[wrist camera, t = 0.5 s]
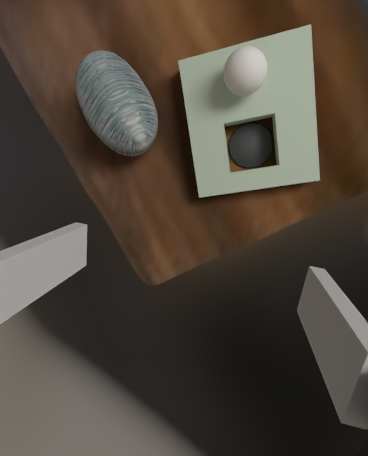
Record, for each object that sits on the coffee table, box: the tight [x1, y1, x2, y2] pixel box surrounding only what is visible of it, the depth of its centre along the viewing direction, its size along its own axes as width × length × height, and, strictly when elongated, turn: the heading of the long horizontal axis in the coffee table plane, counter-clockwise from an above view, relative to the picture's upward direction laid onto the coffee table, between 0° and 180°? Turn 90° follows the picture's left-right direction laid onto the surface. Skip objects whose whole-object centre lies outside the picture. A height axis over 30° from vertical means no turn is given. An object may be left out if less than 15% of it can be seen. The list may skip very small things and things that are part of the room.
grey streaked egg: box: [75, 50, 158, 156], centre depth 36 cm, size 14×10×10 cm
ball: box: [223, 46, 267, 96], centre depth 30 cm, size 5×5×5 cm
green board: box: [178, 25, 320, 198], centre depth 35 cm, size 18×16×3 cm
